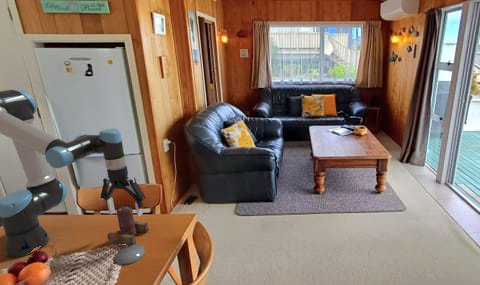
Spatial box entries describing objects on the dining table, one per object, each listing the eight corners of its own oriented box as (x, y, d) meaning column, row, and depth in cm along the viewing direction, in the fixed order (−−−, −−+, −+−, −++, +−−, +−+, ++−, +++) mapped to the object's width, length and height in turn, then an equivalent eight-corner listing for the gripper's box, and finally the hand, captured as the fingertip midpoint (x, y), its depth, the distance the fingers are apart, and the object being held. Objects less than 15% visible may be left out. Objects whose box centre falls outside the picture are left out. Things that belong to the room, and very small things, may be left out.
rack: (108, 243, 123) (107, 235, 122) (125, 227, 134) (124, 220, 133) (133, 246, 120) (132, 238, 119) (148, 230, 131) (147, 222, 130)
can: (132, 241, 123) (126, 212, 120) (118, 240, 125) (113, 211, 121) (139, 233, 129) (134, 204, 125) (126, 232, 130) (121, 204, 127)
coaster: (109, 262, 111) (108, 260, 111) (126, 245, 121) (126, 243, 121) (134, 266, 108) (133, 264, 108) (150, 248, 118) (149, 246, 118)
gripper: (84, 169, 118) (95, 216, 124) (138, 171, 111) (147, 220, 117) (97, 163, 125) (107, 207, 130) (148, 164, 118) (156, 211, 124)
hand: (126, 213), depth 124 cm, fingers open, 13 cm apart
